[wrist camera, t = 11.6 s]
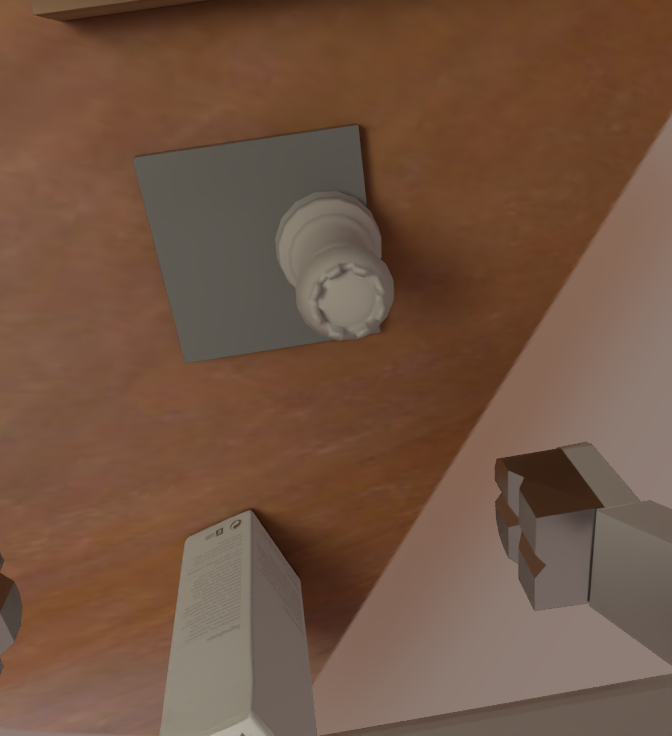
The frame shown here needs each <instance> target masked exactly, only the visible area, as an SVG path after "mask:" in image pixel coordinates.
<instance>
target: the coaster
mask: <svg viewBox="0 0 672 736" xmlns="http://www.w3.org/2000/svg"><path fill="white" fill-rule="evenodd" d="M133 162H134V166H135V170H136V174H137V177H138V181H139V185H140V189H141V193H142V197H143V201H144V205H145V209H146V213H147V217H148V220H149V224H150V228H151V232H152V236H153V240H154V244H155V248H156V252H157V256H158V259H159V263H160V267H161V271H162V275H163V279H164V283H165V287H166V291H167V295H168V299H169V302H170V306H171V310H172V314H173V318H174V322H175V326H176V330H177V334H178V338H179V341H180V345H181V349H182V353H183V357H184V361H185V363H190V362H197V361H203V360H209V359H216V358H222V357H228V356H235V355H241V354H248V353H254V352H260V351H267V350H273V349H279V348H286V347H292V346H299V345H305V344H311V343H318V342H324V341H330V340H335V339H331V338H328V337H325V336H321V335H319V334H318V333H317V332H315V331H314V330H313V329H312V328H310V327H309V326H308V325H307V324H305V322H304V320H303V318H302V316H301V314H300V312H299V310H298V309H297V303H296V291H295V287H294V286H293V285H291V284H290V283H289V282H288V281H287V279H286V277H285V275H284V273H283V271H282V269H281V267H280V265H279V262H278V260H277V254H276V243H275V237H276V234H277V231H278V228H279V224H280V221H281V218H282V217H283V216H284V215H285V214H286V212H287V211H288V210H289V209H290V208H291V207H292V205H293V204H294V203H295V202H297V201H299V200H301V199H302V198H304V197H306V196H308V195H310V194H312V193H314V192H328V191H337V192H340V193H343V194H346V195H349V196H352V197H355V198H356V199H358V200H359V201H360V202H361V203H362V204H363V205H364V206H365V207H366V208H367V202H366V193H365V183H364V174H363V164H362V155H361V146H360V136H359V127H358V124H349V125H342V126H335V127H328V128H321V129H314V130H308V131H301V132H294V133H287V134H280V135H273V136H267V137H260V138H253V139H246V140H239V141H232V142H226V143H219V144H212V145H205V146H198V147H191V148H185V149H178V150H171V151H164V152H157V153H150V154H144V155H137V156H135V157H133ZM375 333H380V325H379V326H378V327H377V328H376V329H375V330H374V331H372V332H371V334H375Z"/></svg>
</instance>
